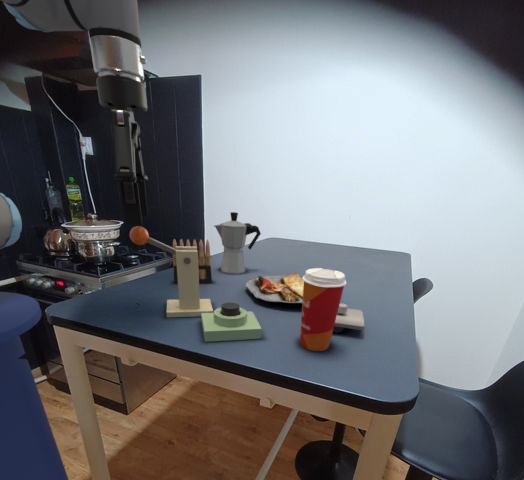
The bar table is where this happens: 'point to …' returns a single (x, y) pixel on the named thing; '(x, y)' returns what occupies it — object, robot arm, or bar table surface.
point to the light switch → (348, 319)
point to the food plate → (278, 288)
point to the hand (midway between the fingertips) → (138, 219)
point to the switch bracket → (188, 286)
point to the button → (230, 309)
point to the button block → (230, 326)
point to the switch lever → (148, 239)
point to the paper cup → (320, 307)
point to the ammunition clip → (203, 265)
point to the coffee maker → (235, 243)
